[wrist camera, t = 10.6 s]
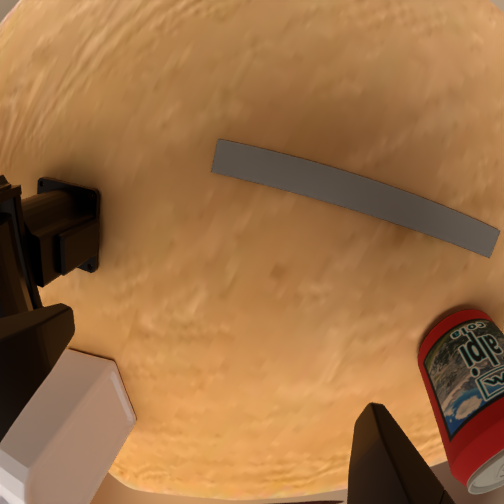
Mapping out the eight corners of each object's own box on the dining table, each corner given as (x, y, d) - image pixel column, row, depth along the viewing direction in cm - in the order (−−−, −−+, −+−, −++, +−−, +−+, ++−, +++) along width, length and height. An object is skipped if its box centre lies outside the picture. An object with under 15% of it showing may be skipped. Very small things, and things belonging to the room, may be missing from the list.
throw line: (212, 171, 18) (211, 172, 18) (219, 139, 17) (217, 139, 17) (487, 256, 17) (489, 258, 16) (498, 229, 16) (500, 231, 16)
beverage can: (489, 290, 17) (577, 402, 6) (488, 356, 19) (544, 465, 8) (409, 322, 19) (462, 467, 8) (418, 385, 21) (450, 511, 10)
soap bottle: (144, 421, 29) (52, 589, 7) (93, 406, 30) (-3, 547, 9) (121, 359, 25) (-18, 557, 4) (67, 345, 27) (-68, 499, 5)
